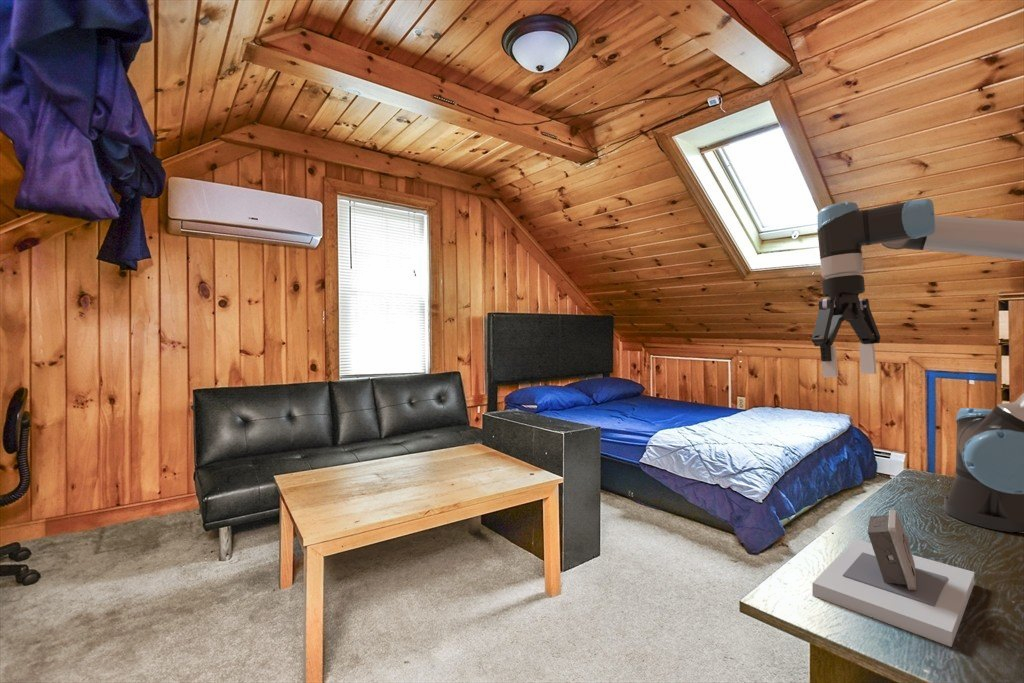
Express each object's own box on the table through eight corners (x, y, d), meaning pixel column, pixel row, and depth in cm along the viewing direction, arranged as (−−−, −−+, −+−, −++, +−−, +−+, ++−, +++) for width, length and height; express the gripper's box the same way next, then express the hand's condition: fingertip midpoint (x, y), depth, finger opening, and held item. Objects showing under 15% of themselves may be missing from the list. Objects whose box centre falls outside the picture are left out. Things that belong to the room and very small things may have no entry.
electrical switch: (916, 594, 71) (910, 530, 71) (872, 586, 74) (866, 524, 74) (915, 568, 78) (909, 510, 78) (875, 561, 81) (869, 506, 82)
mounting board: (854, 549, 89) (854, 537, 89) (974, 584, 77) (974, 570, 77) (812, 595, 75) (812, 581, 75) (951, 647, 63) (951, 630, 63)
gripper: (857, 281, 113) (865, 372, 112) (787, 278, 103) (795, 378, 102) (894, 275, 107) (902, 372, 106) (823, 271, 96) (832, 379, 95)
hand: (850, 375), depth 104 cm, fingers open, 13 cm apart
